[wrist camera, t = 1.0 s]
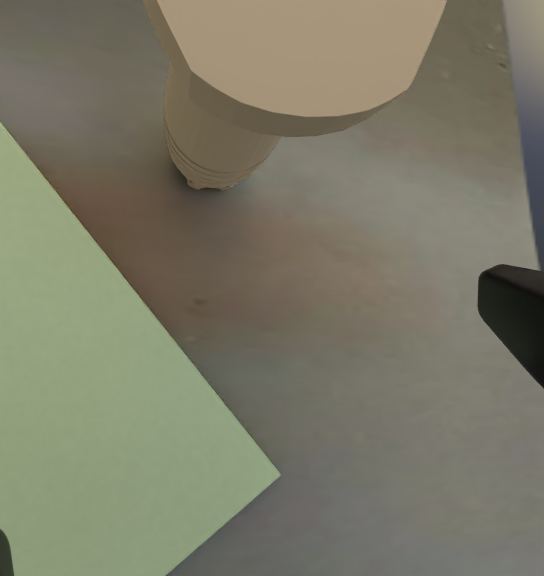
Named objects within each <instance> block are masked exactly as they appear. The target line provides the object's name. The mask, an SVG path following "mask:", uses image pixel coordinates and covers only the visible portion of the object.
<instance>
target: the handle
mask: <svg viewBox="0 0 544 576" xmlns="http://www.w3.org/2000/svg"><path fill="white" fill-rule="evenodd" d="M143 2H144V5H145V7H146V10H147V12H148V15H149V17H150V20H151V22H152V25H153V27H154V29H155V32H156V34H157V36H158V38H159V41H160V43H161V45H162V47H163V50H164V52H165V54H166V56H167V58H168V60H169V62H170V65H169V71H168V76H167V82H166V88H165V93H164V105H163V106H164V127H165V135H166V141H167V145H168V149H169V153H170V156H171V159H172V160H173V162H174V163H175V165H176V166H177V168H178V169H179V170H180V172H181V173H182V174H183V175H184V176H185V177H186V179H187V183H188V185H189V186H190V187H192V188H194V189H196V190H199V189H201V188H205V187H208V188H217V189H220V190H221V191H224V190H227V189H229V188H231V187H232V186H234V185H235V184H236V183H238V182H240V181H241V180H243V179H245V178H246V177H248V176H249V175H250V174H251V173H253V172H254V171H255V170H256V169H257V168H258V167H259V166H260V165H261V164H262V163H263V162H264V160H265V159H266V158H267V157H268V156H269V154H270V153H271V152H272V151H273V149H274V148H275V146H276V145H277V143H278V141H279V139H280V138H281V136H283V137H301V136H318V135H323V134H328V133H333V132H338V131H343V130H345V129H347V128H349V127H351V126H353V125H355V124H357V123H360V122H362V121H364V120H365V119H367V118H369V117H370V116H372V115H373V114H375V113H376V112H378V111H379V110H381V109H382V108H384V107H385V106H387V105H388V104H389V103H391V102H392V101H393V100H395V99H396V98H397V97H398V96H400V95H401V94H402V93H403V92H405V91H406V90H407V89H408V88H409V87H410V85H411V83H412V81H413V79H414V77H415V74H416V72H417V70H418V68H419V66H420V63H421V61H422V59H423V57H424V55H425V53H426V50H427V48H428V46H429V44H430V41H431V39H432V37H433V34H434V32H435V30H436V27H437V25H438V22H439V20H440V18H441V15H442V13H443V11H444V7H445V4H446V0H143Z"/></svg>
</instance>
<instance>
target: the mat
mask: <svg viewBox="0 0 544 576" xmlns="http://www.w3.org/2000/svg"><path fill="white" fill-rule="evenodd" d="M280 476H281V474H280V473H279V471H278V470H277V469H276V468H275V466H274V465H273V464H272V463H271V461H270V460H269V459H268V457H267V456H266V455H265V454H264V452H263V451H262V450H261V449H260V447H259V446H258V445H257V444H256V442H255V441H254V440H253V439H252V437H251V436H250V435H249V434H248V432H247V431H246V430H245V429H244V427H243V426H242V425H241V424H240V422H239V421H238V420H237V419H236V417H235V416H234V415H233V414H232V412H231V411H230V410H229V408H228V407H227V406H226V405H225V403H224V402H223V401H222V400H221V398H220V397H219V396H218V395H217V393H216V392H215V391H214V390H213V388H212V387H211V386H210V385H209V383H208V382H207V381H206V380H205V378H204V377H203V376H202V375H201V373H200V372H199V371H198V370H197V368H196V367H195V366H194V365H193V363H192V362H191V361H190V359H189V358H188V357H187V356H186V354H185V353H184V352H183V351H182V349H181V348H180V347H179V346H178V344H177V343H176V342H175V341H174V339H173V338H172V337H171V336H170V334H169V333H168V332H167V331H166V329H165V328H164V327H163V326H162V324H161V323H160V322H159V321H158V319H157V318H156V317H155V316H154V314H153V313H152V312H151V310H150V309H149V308H148V307H147V305H146V304H145V303H144V302H143V300H142V299H141V298H140V297H139V295H138V294H137V293H136V292H135V290H134V289H133V288H132V287H131V285H130V284H129V283H128V282H127V280H126V279H125V278H124V277H123V275H122V274H121V273H120V272H119V270H118V269H117V268H116V267H115V265H114V264H113V263H112V261H111V260H110V259H109V258H108V256H107V255H106V254H105V253H104V251H103V250H102V249H101V248H100V246H99V245H98V244H97V243H96V241H95V240H94V239H93V238H92V236H91V235H90V234H89V233H88V231H87V230H86V229H85V228H84V226H83V225H82V224H81V223H80V221H79V220H78V219H77V218H76V216H75V215H74V214H73V212H72V211H71V210H70V209H69V207H68V206H67V205H66V204H65V202H64V201H63V200H62V199H61V197H60V196H59V195H58V194H57V192H56V191H55V190H54V189H53V187H52V186H51V185H50V184H49V182H48V181H47V180H46V179H45V177H44V176H43V175H42V174H41V172H40V171H39V170H38V168H37V167H36V166H35V165H34V163H33V162H32V161H31V160H30V158H29V157H28V156H27V155H26V153H25V152H24V151H23V150H22V148H21V147H20V146H19V145H18V143H17V142H16V141H15V140H14V138H13V137H12V136H11V135H10V133H9V132H8V131H7V130H6V128H5V127H4V126H3V125H2V123H1V122H0V529H1V530H2V531H3V532H4V533H5V535H6V536H7V538H8V541H9V544H10V548H11V555H12V562H13V569H14V576H166V575H167V574H168V573H169V572H170V571H171V570H173V569H174V568H175V567H176V566H177V565H178V564H179V563H181V562H182V561H183V560H184V559H185V558H186V557H188V556H189V555H190V554H191V553H192V552H193V551H194V550H196V549H197V548H198V547H199V546H200V545H201V544H202V543H204V542H205V541H206V540H207V539H208V538H209V537H211V536H212V535H213V534H214V533H215V532H216V531H217V530H219V529H220V528H221V527H222V526H223V525H224V524H226V523H227V522H228V521H229V520H230V519H231V518H232V517H234V516H235V515H236V514H237V513H238V512H239V511H240V510H242V509H243V508H244V507H245V506H246V505H247V504H249V503H250V502H251V501H252V500H253V499H254V498H255V497H257V496H258V495H259V494H260V493H261V492H262V491H263V490H265V489H266V488H267V487H268V486H269V485H270V484H272V483H273V482H274V481H275V480H276V479H277V478H278V477H280Z"/></svg>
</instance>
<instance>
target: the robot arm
mask: <svg viewBox="0 0 544 576" xmlns="http://www.w3.org/2000/svg"><path fill="white" fill-rule="evenodd" d="M478 311H479V314H480V316H481V317H482V319H483V320H484V322H485V323H486V324H487V325H488V326H489V327H490V328H491V330H492V331H493V332H494V333H495V334H496V335H497V337H498V338H499V339H500V340H501V341H502V342H503V344H504V345H505V346H506V347H507V348H508V349H509V351H510V352H511V353H512V354H513V355H514V356H515V358H516V359H517V360H518V361H519V362H520V363H521V365H522V366H523V367H524V368H525V369H526V370H527V371H528V372H529V374H530V375H531V376H532V377H533V378H534V379H535V380H536V381H537V382H538V383H539V384H540V385H541V386H542V387H543V388H544V272H542V271H537V270H532V269H526V268H521V267H516V266H510V265H504V264H500V265H496V266H494V267H492V268H490V269H488V270H485V271H483V272H482V273H481V274H480V276H479V280H478ZM0 576H14V569H13V562H12V555H11V548H10V544H9V541H8V538H7V536H6V535H5V533H4V532H3V531H2V530H1V529H0Z"/></svg>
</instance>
